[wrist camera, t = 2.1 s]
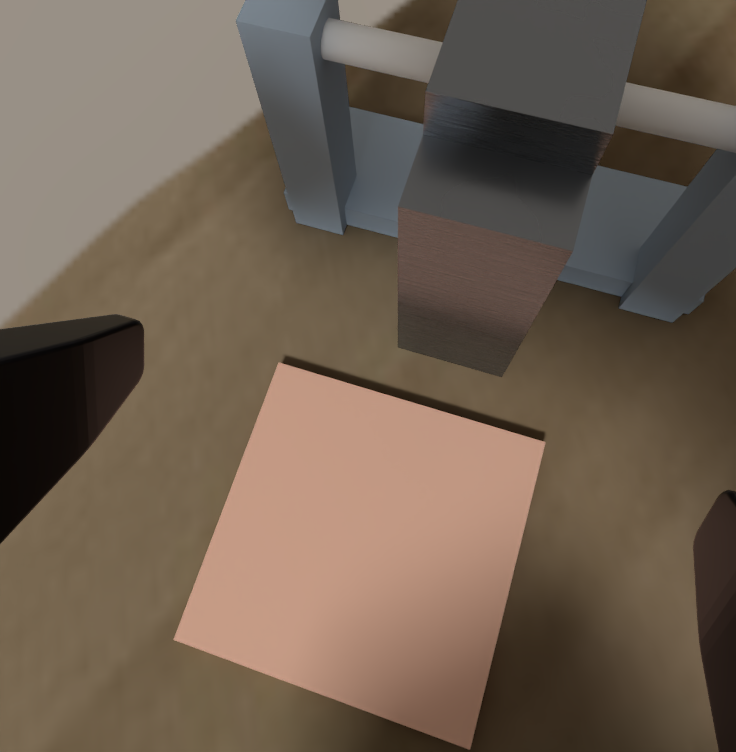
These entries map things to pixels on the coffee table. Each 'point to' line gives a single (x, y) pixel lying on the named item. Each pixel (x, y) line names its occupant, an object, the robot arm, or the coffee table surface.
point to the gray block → (505, 169)
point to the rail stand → (402, 138)
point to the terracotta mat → (367, 552)
